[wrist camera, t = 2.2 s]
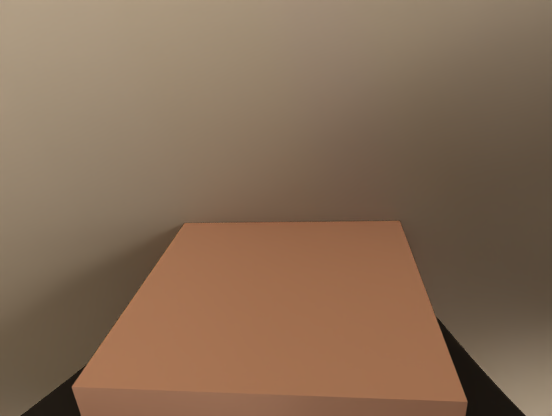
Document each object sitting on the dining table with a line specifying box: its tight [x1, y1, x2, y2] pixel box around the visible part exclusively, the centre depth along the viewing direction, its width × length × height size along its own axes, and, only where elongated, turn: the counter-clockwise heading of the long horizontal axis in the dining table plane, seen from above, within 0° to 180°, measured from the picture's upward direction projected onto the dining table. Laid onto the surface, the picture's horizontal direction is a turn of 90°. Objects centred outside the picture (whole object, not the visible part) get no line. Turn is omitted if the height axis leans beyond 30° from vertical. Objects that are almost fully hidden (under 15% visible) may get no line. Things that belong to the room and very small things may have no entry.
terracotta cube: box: [72, 221, 468, 416], centre depth 9 cm, size 5×5×5 cm
